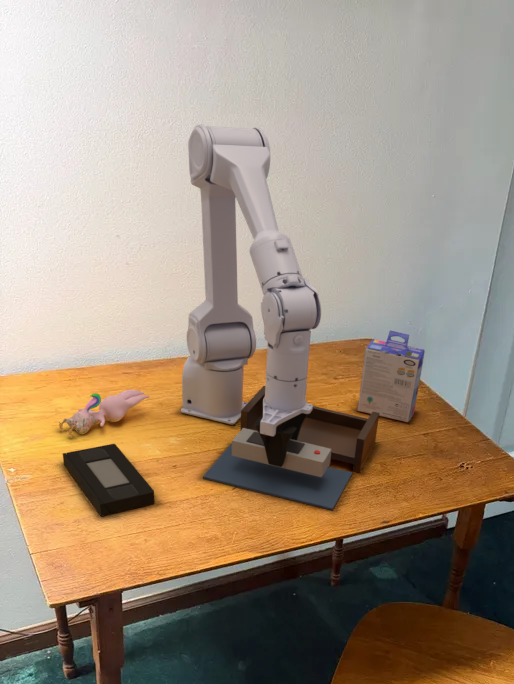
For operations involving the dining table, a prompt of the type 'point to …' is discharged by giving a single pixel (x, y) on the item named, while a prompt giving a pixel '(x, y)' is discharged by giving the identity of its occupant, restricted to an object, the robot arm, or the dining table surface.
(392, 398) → the ink cartridge box
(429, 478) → the dining table surface
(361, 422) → the dark wooden tray
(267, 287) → the robot arm
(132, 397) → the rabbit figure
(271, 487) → the desk mat
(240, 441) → the remote
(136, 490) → the vhs tape
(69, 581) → the dining table surface
